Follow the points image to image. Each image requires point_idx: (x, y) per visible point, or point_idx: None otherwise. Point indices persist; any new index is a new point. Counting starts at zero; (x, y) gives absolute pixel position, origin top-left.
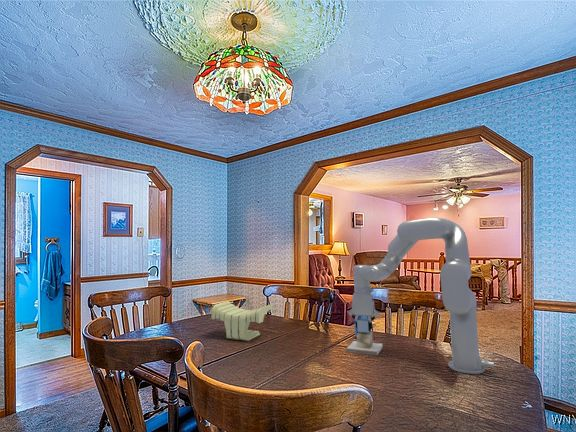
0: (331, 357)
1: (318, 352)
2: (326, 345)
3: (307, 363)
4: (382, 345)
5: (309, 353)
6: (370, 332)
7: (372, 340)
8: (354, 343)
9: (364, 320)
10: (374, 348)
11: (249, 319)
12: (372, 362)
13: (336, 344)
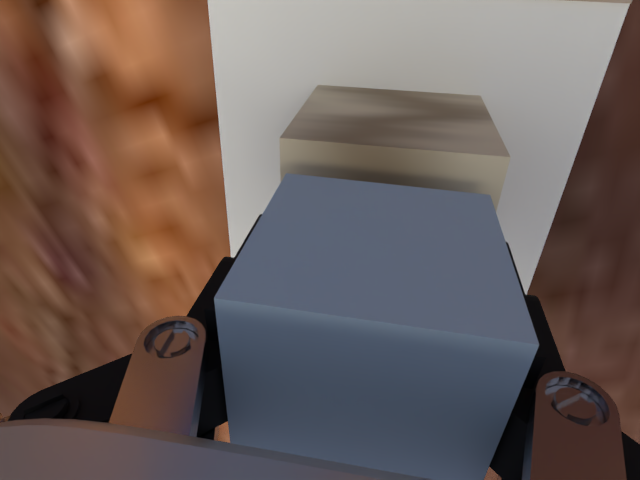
0: None
1: (68, 305)
2: (2, 128)
3: None
4: None
5: (34, 331)
6: (478, 187)
7: (488, 116)
8: (250, 96)
9: (386, 468)
10: (499, 218)
11: None
12: None
13: (58, 62)
